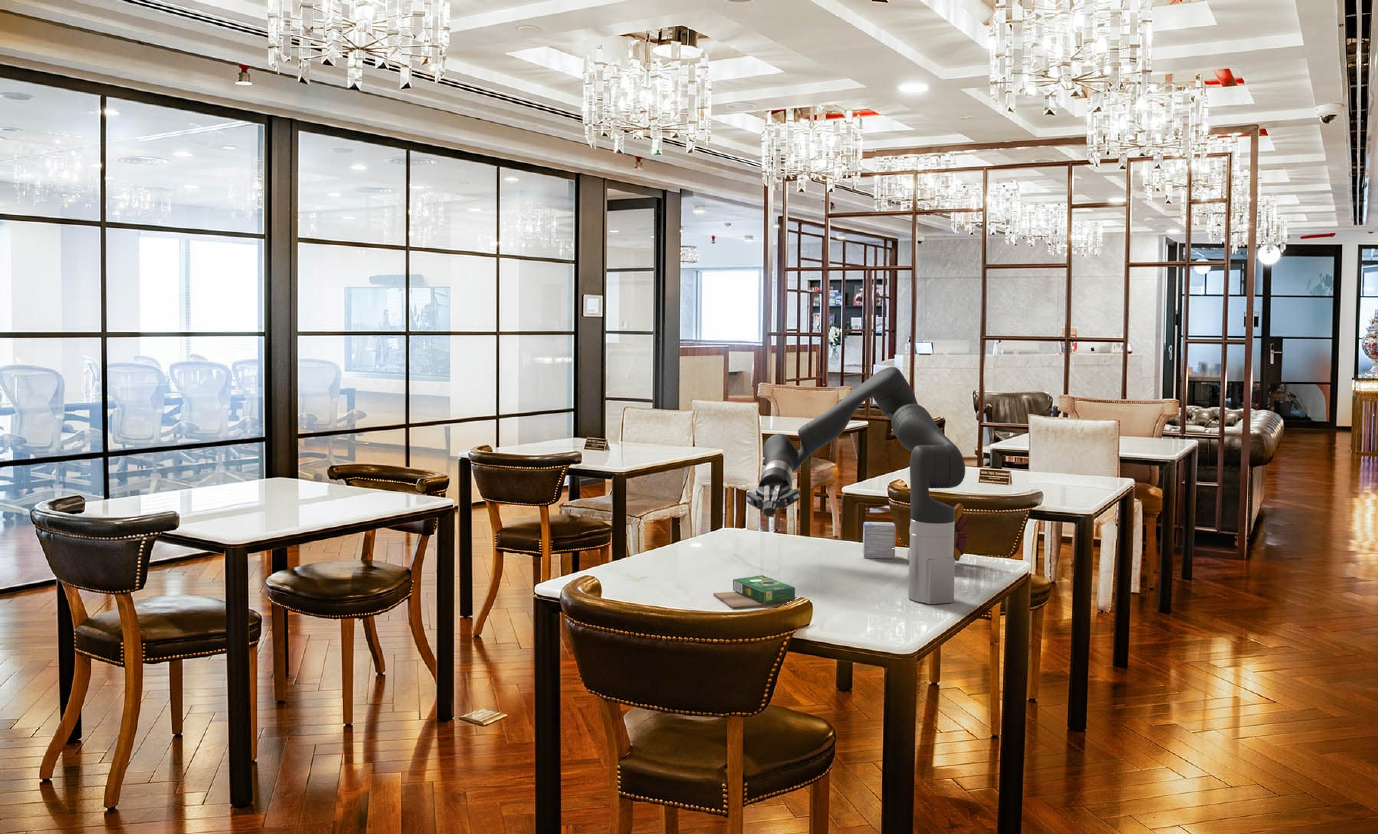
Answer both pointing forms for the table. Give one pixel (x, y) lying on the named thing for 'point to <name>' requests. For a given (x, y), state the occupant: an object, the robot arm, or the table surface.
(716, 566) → the table surface
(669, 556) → the table surface
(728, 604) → the board
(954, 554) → the mug
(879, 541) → the medicine box
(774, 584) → the coffee box
